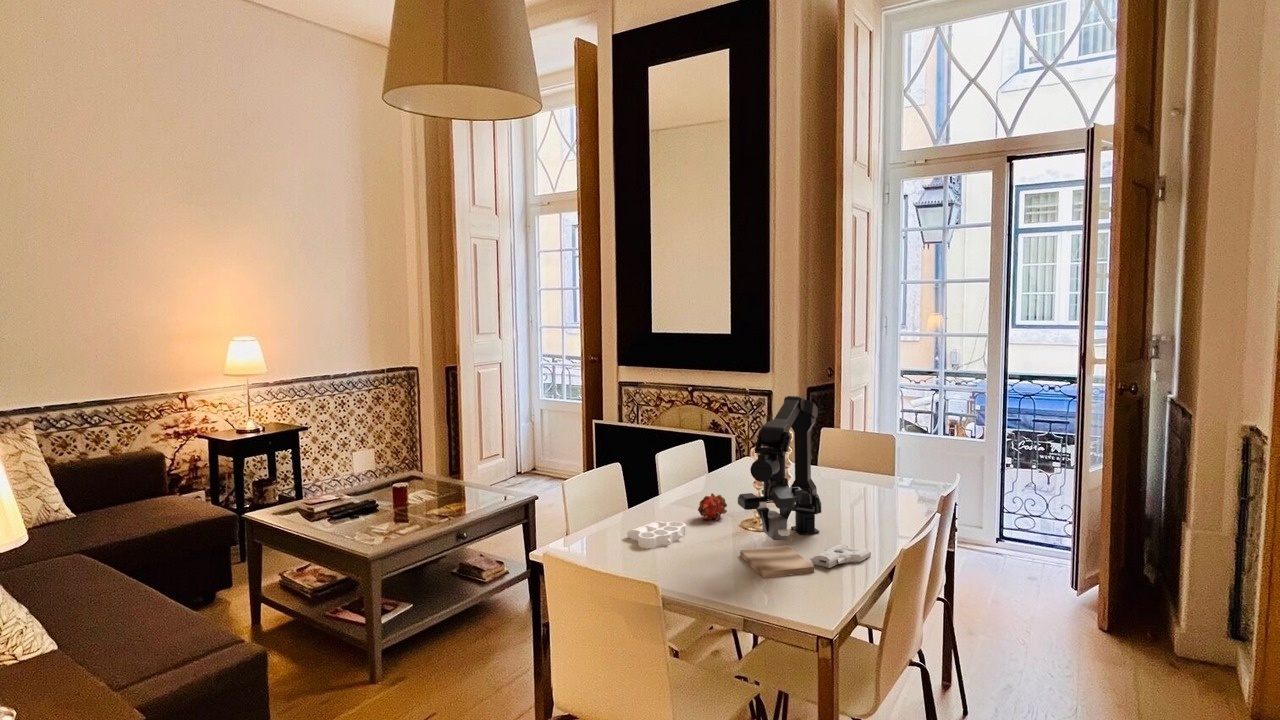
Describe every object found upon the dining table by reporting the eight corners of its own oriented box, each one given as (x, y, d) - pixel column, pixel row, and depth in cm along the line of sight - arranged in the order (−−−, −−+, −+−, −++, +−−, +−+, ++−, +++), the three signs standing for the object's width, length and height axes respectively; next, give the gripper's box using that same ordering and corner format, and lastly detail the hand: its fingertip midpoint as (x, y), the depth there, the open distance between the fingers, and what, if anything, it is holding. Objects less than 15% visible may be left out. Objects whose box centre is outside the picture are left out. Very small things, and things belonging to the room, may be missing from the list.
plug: (757, 526, 193) (757, 509, 192) (771, 525, 193) (770, 507, 193) (778, 543, 179) (778, 524, 178) (792, 542, 180) (792, 523, 179)
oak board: (740, 555, 192) (740, 550, 192) (787, 550, 195) (787, 545, 195) (763, 577, 176) (763, 572, 176) (814, 572, 180) (814, 566, 179)
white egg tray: (660, 526, 219) (696, 537, 209) (619, 542, 206) (656, 553, 196) (660, 516, 219) (696, 526, 209) (619, 530, 206) (656, 541, 196)
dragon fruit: (726, 518, 229) (704, 533, 221) (708, 500, 233) (685, 514, 225) (737, 501, 225) (715, 516, 216) (718, 483, 228) (695, 497, 220)
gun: (842, 561, 177) (807, 553, 184) (842, 575, 177) (807, 566, 184) (874, 546, 191) (840, 538, 197) (873, 558, 191) (839, 550, 198)
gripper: (752, 483, 175) (753, 544, 176) (821, 477, 179) (821, 537, 180) (736, 472, 186) (737, 530, 187) (801, 467, 190) (801, 523, 191)
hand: (774, 530), depth 186 cm, fingers closed on plug, 4 cm apart
